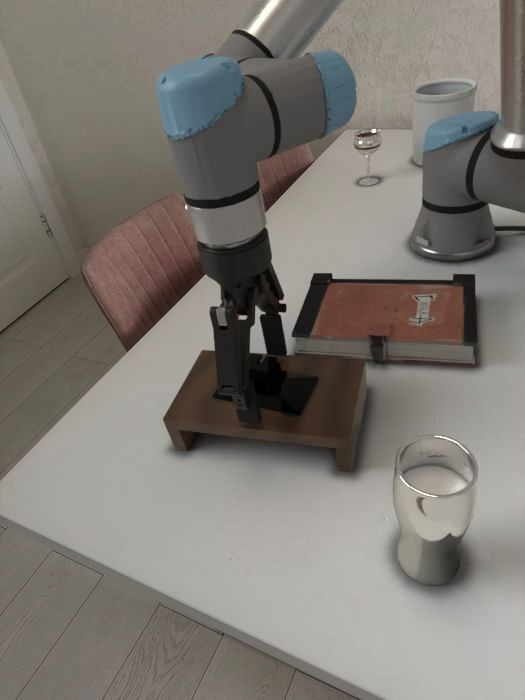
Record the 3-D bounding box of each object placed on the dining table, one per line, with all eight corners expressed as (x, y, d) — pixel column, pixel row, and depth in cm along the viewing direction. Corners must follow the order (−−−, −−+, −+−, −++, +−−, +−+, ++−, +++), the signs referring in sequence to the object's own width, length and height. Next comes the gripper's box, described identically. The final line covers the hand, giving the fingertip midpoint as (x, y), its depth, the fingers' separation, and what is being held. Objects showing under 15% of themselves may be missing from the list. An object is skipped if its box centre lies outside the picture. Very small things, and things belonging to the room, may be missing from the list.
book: (294, 359, 78) (289, 334, 75) (316, 296, 91) (313, 273, 87) (474, 370, 70) (478, 343, 67) (472, 300, 82) (475, 274, 79)
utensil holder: (478, 163, 125) (486, 86, 114) (417, 172, 126) (419, 98, 116) (460, 145, 136) (466, 74, 125) (405, 154, 138) (406, 84, 127)
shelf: (367, 391, 70) (365, 359, 66) (352, 472, 60) (349, 439, 56) (211, 379, 78) (202, 349, 74) (175, 449, 68) (162, 419, 64)
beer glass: (384, 531, 54) (382, 439, 44) (449, 520, 53) (461, 425, 44) (404, 595, 48) (407, 507, 39) (476, 584, 48) (496, 492, 38)
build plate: (319, 379, 65) (315, 352, 62) (299, 419, 60) (294, 391, 57) (235, 363, 70) (229, 338, 67) (211, 399, 65) (202, 373, 62)
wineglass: (386, 177, 128) (386, 128, 120) (376, 187, 124) (374, 137, 116) (361, 175, 131) (359, 128, 124) (350, 185, 127) (348, 137, 120)
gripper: (234, 187, 61) (263, 327, 74) (147, 297, 44) (205, 454, 57) (293, 184, 59) (312, 329, 72) (226, 299, 41) (267, 462, 55)
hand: (265, 385), depth 65 cm, fingers open, 12 cm apart
